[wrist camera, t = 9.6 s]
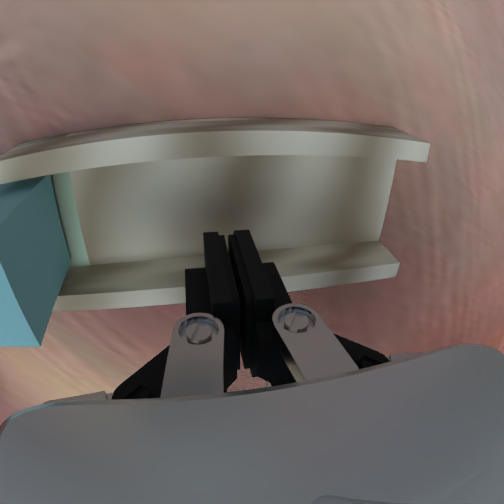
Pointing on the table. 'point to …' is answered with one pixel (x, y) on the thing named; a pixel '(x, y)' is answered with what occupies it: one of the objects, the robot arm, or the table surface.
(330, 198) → the twin rail frame
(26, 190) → the block
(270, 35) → the table surface
